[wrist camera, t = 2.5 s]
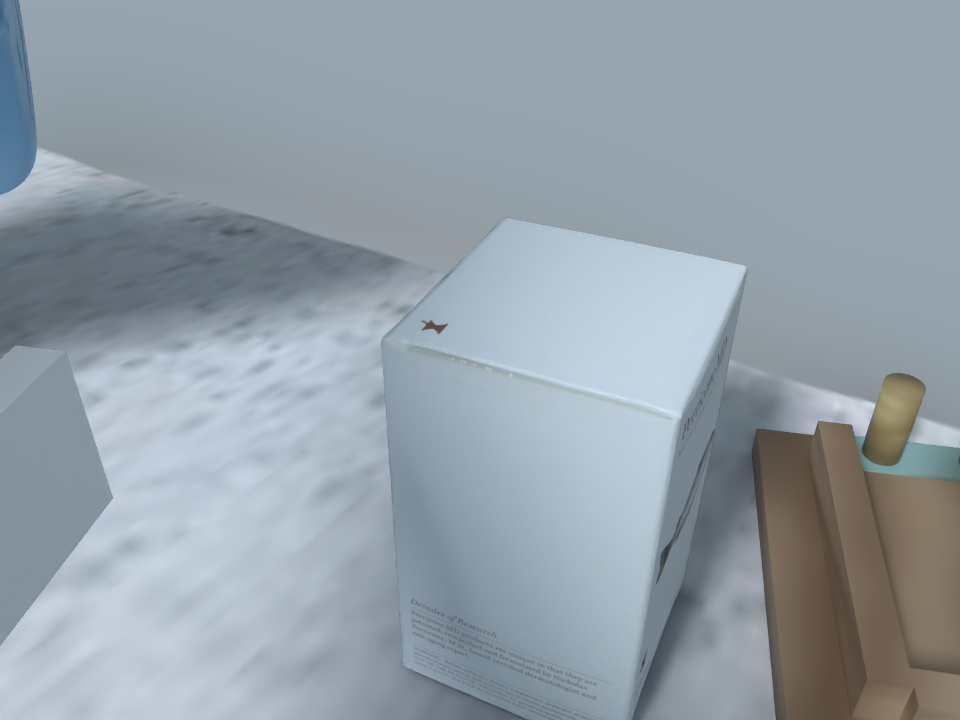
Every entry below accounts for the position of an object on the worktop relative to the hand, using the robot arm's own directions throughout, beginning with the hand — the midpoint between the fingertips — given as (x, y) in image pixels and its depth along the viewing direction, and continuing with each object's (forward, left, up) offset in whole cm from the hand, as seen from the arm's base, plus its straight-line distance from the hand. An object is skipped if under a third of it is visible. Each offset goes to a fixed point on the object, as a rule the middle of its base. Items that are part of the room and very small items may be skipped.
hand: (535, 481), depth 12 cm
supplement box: (0, +10, -16) cm, 19 cm away
